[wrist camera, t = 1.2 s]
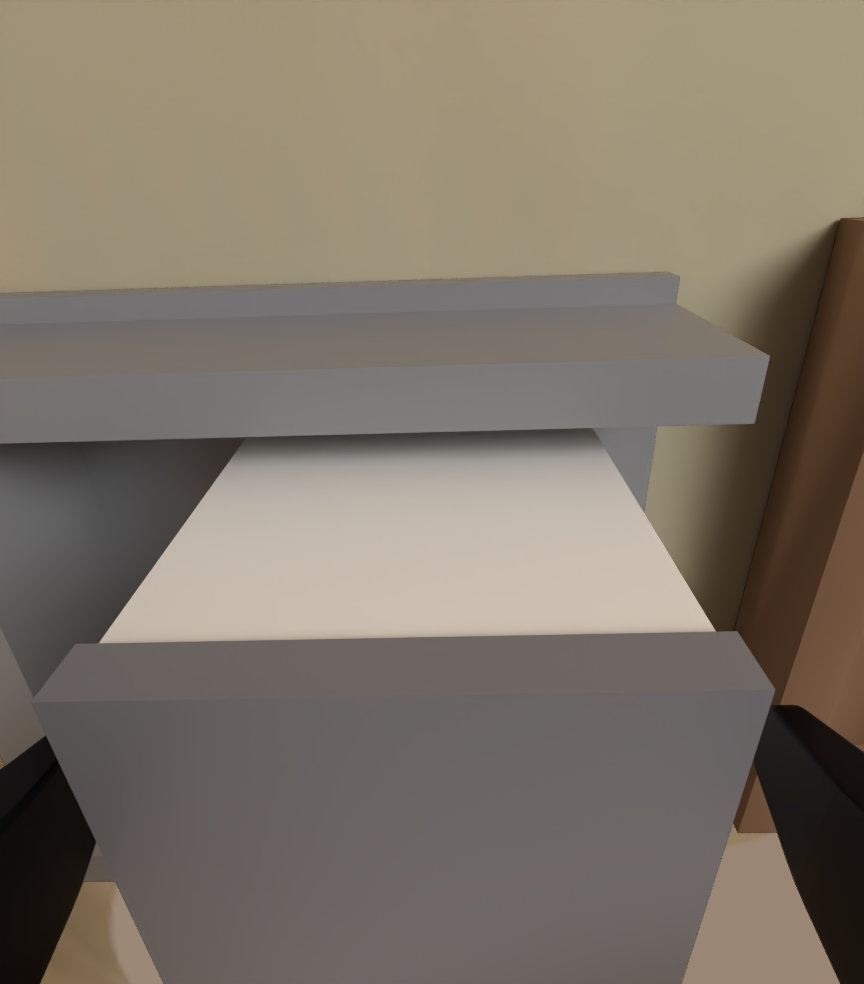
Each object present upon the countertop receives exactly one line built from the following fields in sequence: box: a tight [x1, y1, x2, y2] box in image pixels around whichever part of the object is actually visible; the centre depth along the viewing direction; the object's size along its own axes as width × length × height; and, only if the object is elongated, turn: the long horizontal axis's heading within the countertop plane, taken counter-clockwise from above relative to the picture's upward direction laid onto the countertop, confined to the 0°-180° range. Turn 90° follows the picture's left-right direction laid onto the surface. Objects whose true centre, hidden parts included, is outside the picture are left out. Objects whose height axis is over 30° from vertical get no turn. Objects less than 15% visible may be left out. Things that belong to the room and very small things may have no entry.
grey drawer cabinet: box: [0, 272, 770, 882], centre depth 11 cm, size 11×11×4 cm
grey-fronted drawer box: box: [30, 428, 775, 984], centre depth 9 cm, size 5×7×7 cm
